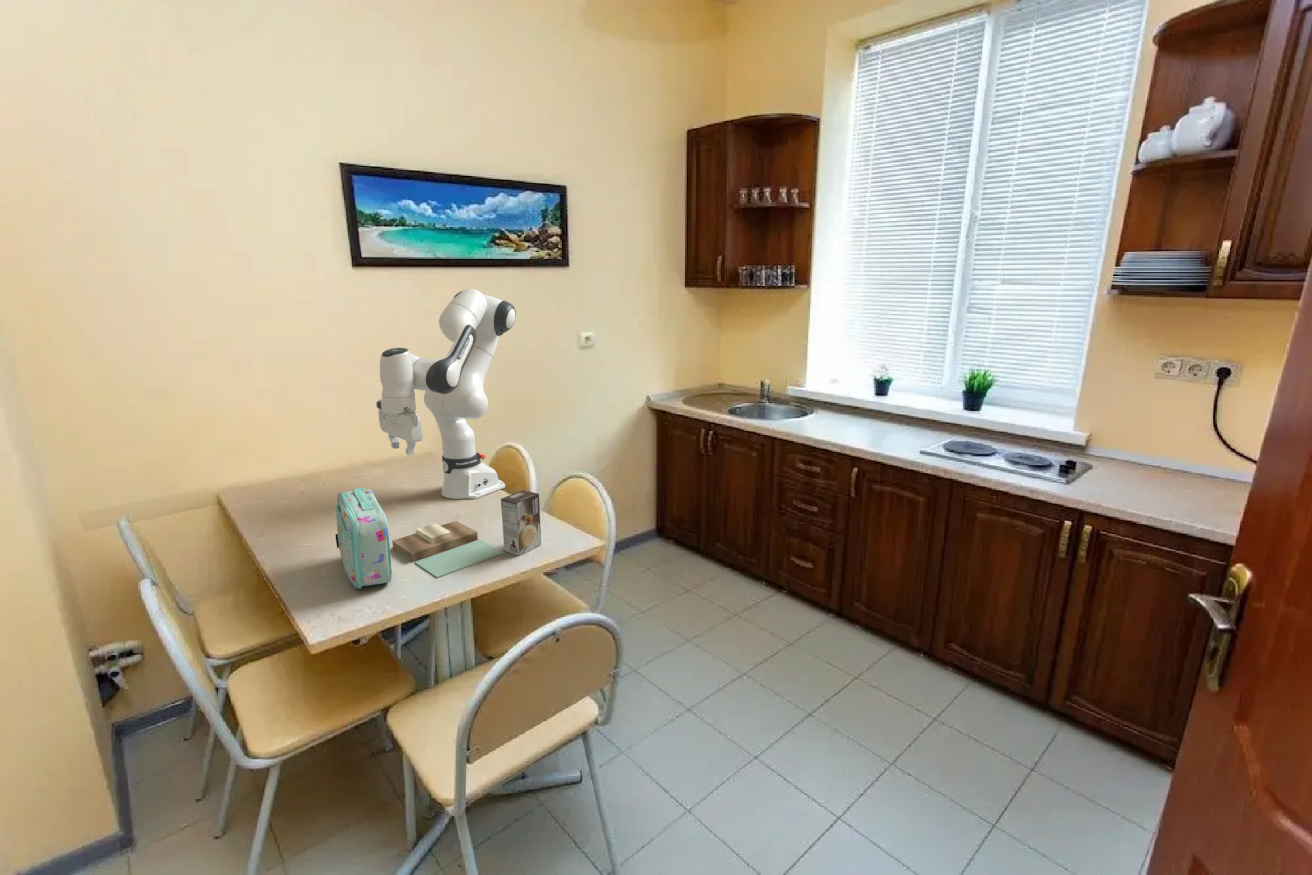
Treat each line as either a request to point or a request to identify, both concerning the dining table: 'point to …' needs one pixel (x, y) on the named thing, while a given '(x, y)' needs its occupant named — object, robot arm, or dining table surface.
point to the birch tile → (433, 533)
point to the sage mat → (458, 558)
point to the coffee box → (521, 522)
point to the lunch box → (363, 538)
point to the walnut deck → (422, 548)
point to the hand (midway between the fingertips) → (402, 451)
